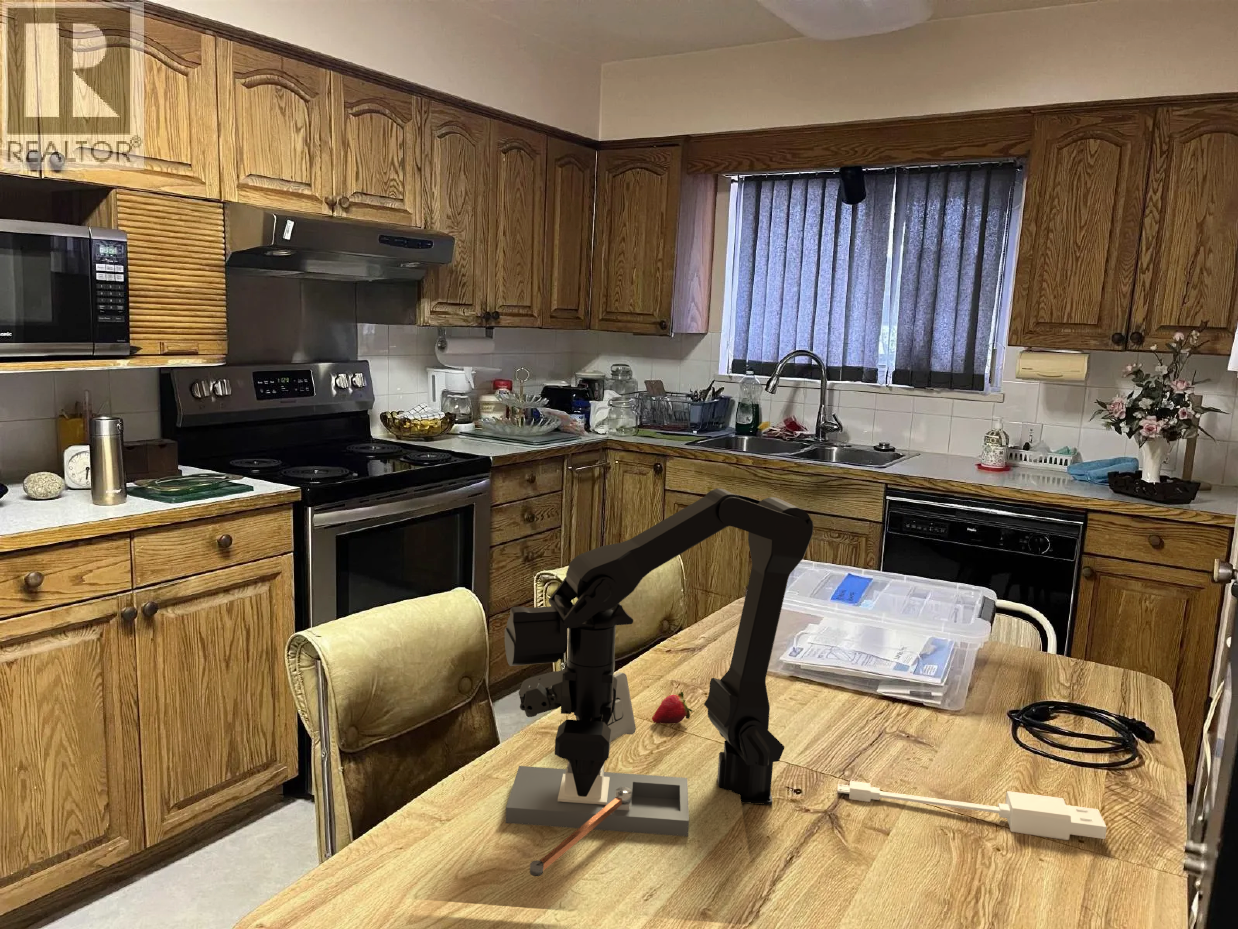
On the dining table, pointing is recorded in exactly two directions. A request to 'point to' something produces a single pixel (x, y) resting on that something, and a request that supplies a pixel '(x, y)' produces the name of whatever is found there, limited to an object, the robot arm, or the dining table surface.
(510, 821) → the grey socket base
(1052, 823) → the charging cable
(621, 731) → the electrical switch
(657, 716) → the fruit
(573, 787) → the plug
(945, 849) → the dining table surface
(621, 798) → the copper link
